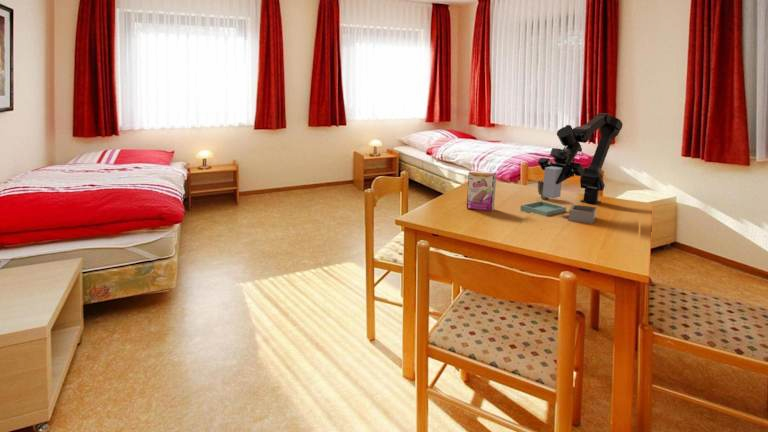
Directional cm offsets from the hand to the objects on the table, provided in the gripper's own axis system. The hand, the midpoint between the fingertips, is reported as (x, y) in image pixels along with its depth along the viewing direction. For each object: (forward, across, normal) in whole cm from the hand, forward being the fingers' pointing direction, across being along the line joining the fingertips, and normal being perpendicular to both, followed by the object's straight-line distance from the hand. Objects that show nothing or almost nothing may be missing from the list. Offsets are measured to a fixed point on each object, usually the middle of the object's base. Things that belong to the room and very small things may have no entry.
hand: (550, 182), depth 190 cm
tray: (+8, -4, +11) cm, 14 cm away
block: (+3, 0, +5) cm, 6 cm away
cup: (-6, -17, +25) cm, 31 cm away
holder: (+8, +14, +11) cm, 19 cm away
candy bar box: (+21, -23, -2) cm, 31 cm away
